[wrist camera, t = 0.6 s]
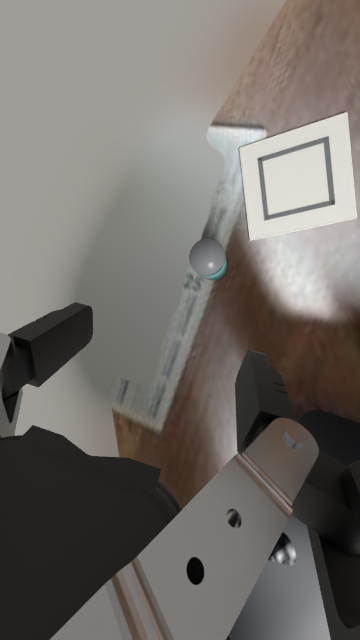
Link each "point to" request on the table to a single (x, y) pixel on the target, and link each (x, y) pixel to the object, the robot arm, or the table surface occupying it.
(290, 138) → the card
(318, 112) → the table surface
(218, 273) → the teal jar
